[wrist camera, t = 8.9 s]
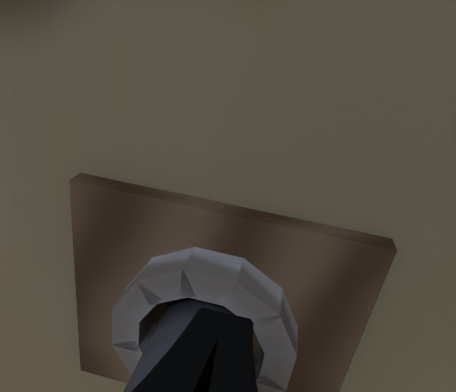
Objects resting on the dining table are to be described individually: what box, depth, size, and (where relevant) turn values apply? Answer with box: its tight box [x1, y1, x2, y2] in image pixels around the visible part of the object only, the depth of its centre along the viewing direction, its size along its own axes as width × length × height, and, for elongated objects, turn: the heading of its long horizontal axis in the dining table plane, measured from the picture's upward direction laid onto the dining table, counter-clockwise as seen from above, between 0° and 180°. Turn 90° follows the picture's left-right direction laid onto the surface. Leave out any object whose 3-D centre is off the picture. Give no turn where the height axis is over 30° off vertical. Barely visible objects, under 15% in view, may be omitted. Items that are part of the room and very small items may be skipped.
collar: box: [69, 173, 397, 392], centre depth 20 cm, size 16×14×3 cm
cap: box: [124, 297, 235, 392], centre depth 18 cm, size 5×5×6 cm
